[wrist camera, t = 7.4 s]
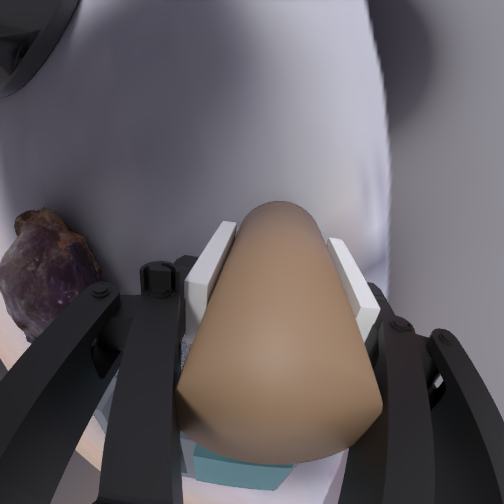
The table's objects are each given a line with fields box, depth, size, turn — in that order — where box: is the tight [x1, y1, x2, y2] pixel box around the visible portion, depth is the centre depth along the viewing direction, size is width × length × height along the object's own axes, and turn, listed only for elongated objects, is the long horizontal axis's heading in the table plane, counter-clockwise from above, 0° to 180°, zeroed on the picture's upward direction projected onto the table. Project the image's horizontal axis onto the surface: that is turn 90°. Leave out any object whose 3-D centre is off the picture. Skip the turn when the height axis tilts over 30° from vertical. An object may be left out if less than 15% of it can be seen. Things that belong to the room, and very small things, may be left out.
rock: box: [0, 207, 104, 344], centre depth 16 cm, size 12×9×10 cm
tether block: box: [174, 201, 383, 491], centre depth 14 cm, size 19×6×12 cm, turn 173°
